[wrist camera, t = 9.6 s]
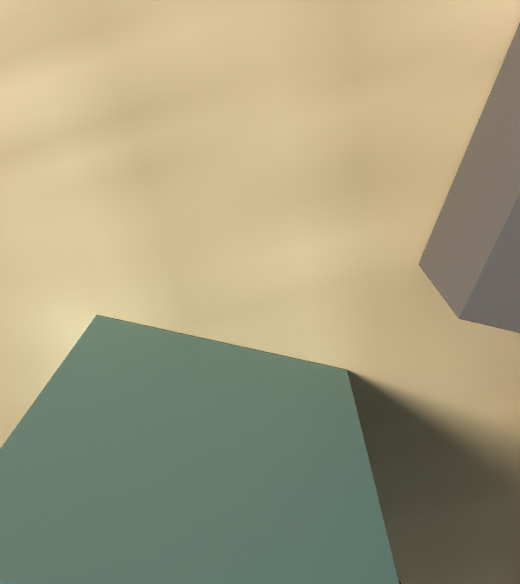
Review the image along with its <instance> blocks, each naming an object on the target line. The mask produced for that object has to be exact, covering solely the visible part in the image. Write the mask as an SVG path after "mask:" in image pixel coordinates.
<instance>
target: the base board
mask: <svg viewBox="0 0 520 584" xmlns="http://www.w3.org/2000/svg"><path fill="white" fill-rule="evenodd" d="M419 266H420V267H421V268H422V270H423V271H424V272H425V274H426V275H427V276H428V278H429V279H430V280H431V282H432V283H433V285H434V286H435V287H436V289H437V290H438V291H439V293H440V294H441V295H442V297H443V298H444V299H445V301H446V302H447V303H448V305H449V306H450V307H451V309H452V310H453V311H454V313H455V314H456V315H457V317H458V318H459V319H462V320H467V321H471V322H475V323H480V324H484V325H488V326H493V327H497V328H501V329H505V330H510V331H514V332H518V333H520V24H519V26H518V29H517V31H516V33H515V36H514V38H513V41H512V43H511V45H510V48H509V50H508V52H507V55H506V57H505V60H504V62H503V64H502V67H501V69H500V72H499V74H498V76H497V79H496V81H495V83H494V86H493V88H492V91H491V93H490V95H489V98H488V100H487V103H486V105H485V107H484V110H483V112H482V114H481V117H480V119H479V122H478V124H477V126H476V129H475V131H474V134H473V136H472V138H471V141H470V143H469V145H468V148H467V150H466V153H465V155H464V157H463V160H462V162H461V165H460V167H459V169H458V172H457V174H456V176H455V179H454V181H453V184H452V186H451V188H450V191H449V193H448V195H447V198H446V200H445V203H444V205H443V207H442V210H441V212H440V215H439V217H438V219H437V222H436V224H435V226H434V229H433V231H432V234H431V236H430V238H429V241H428V243H427V246H426V248H425V250H424V253H423V255H422V257H421V260H420V262H419Z"/></svg>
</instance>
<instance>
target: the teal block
mask: <svg viewBox="0 0 520 584" xmlns="http://www.w3.org/2000/svg"><path fill="white" fill-rule="evenodd" d="M0 584H399V580H398V576H397V572H396V568H395V564H394V560H393V556H392V552H391V548H390V544H389V540H388V535H387V531H386V527H385V523H384V519H383V515H382V511H381V507H380V503H379V499H378V495H377V490H376V486H375V482H374V478H373V474H372V470H371V466H370V462H369V458H368V454H367V450H366V445H365V441H364V437H363V433H362V429H361V425H360V421H359V417H358V413H357V409H356V405H355V400H354V396H353V392H352V388H351V384H350V380H349V376H348V372H347V370H345V369H340V368H336V367H331V366H327V365H322V364H318V363H313V362H308V361H304V360H299V359H295V358H290V357H286V356H281V355H277V354H272V353H267V352H263V351H258V350H254V349H249V348H245V347H240V346H235V345H231V344H226V343H222V342H217V341H213V340H208V339H203V338H199V337H194V336H190V335H185V334H181V333H176V332H172V331H167V330H162V329H158V328H153V327H149V326H144V325H140V324H135V323H130V322H126V321H121V320H117V319H112V318H108V317H103V316H99V315H96V317H95V318H94V319H93V321H92V322H91V324H90V325H89V326H88V328H87V329H86V331H85V332H84V333H83V335H82V336H81V337H80V339H79V340H78V342H77V343H76V344H75V346H74V347H73V349H72V350H71V351H70V353H69V354H68V356H67V357H66V358H65V360H64V361H63V362H62V364H61V365H60V367H59V368H58V369H57V371H56V372H55V374H54V375H53V376H52V378H51V379H50V381H49V382H48V383H47V385H46V386H45V387H44V389H43V390H42V392H41V393H40V394H39V396H38V397H37V399H36V400H35V401H34V403H33V404H32V406H31V407H30V408H29V410H28V411H27V413H26V414H25V415H24V417H23V418H22V419H21V421H20V422H19V424H18V425H17V426H16V428H15V429H14V431H13V432H12V433H11V435H10V436H9V438H8V439H7V440H6V442H5V443H4V444H3V446H2V447H1V449H0Z"/></svg>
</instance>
